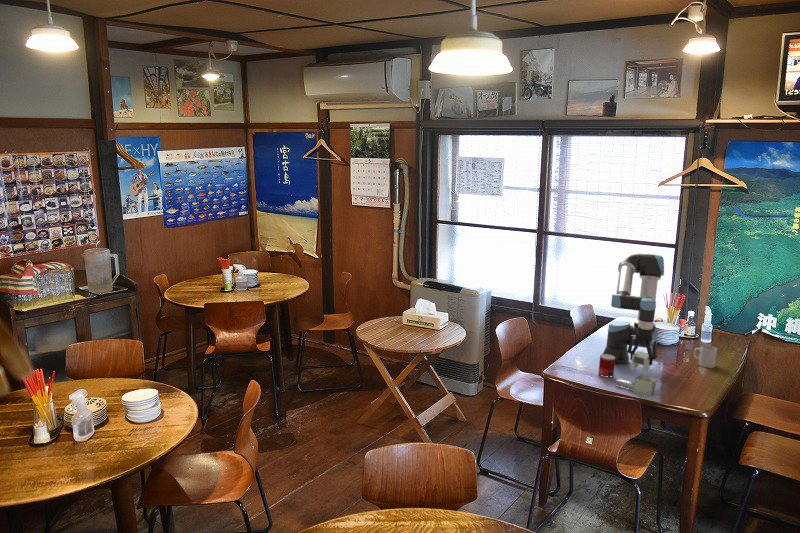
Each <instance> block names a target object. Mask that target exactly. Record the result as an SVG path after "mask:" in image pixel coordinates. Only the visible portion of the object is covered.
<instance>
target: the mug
mask: <svg viewBox="0 0 800 533" xmlns="http://www.w3.org/2000/svg"><path fill="white" fill-rule="evenodd" d="M697 351H698V352H699V356H697V355H696V352H697ZM717 353H718V348H717V347H715V346H713V345H708V344H704V345H701V346H700V347H695V348H694V350H693V358H694V359H695V360H698V365H699V366H700V367H703V368H706V369H713V368H715V366H716V361H717V360H716V359H717Z"/></svg>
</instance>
